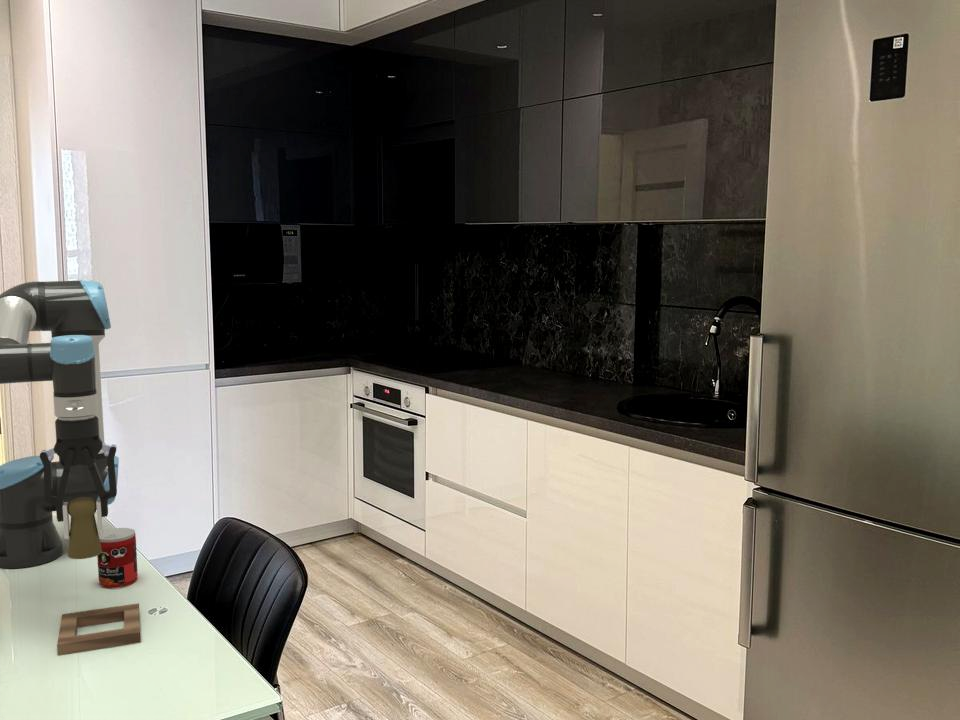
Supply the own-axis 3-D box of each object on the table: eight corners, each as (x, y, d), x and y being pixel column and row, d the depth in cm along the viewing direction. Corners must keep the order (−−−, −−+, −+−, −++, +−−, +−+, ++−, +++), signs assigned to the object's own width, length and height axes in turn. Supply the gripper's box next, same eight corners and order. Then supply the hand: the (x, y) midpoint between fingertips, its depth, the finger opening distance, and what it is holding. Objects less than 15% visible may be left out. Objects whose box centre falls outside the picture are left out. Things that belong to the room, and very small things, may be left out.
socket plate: (62, 623, 172) (62, 614, 171) (139, 612, 177) (139, 603, 177) (57, 655, 159) (56, 644, 159) (140, 642, 164) (140, 632, 164)
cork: (88, 560, 167) (85, 503, 166) (61, 557, 169) (57, 501, 167) (108, 549, 173) (105, 495, 172) (81, 547, 174) (78, 493, 173)
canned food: (91, 586, 190) (88, 537, 189) (117, 573, 198) (115, 525, 196) (119, 590, 188) (116, 541, 186) (145, 577, 195) (143, 529, 194)
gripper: (20, 423, 161) (29, 546, 164) (128, 416, 167) (134, 535, 170) (25, 416, 168) (33, 535, 171) (128, 410, 174) (134, 524, 177)
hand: (84, 534), depth 170 cm, fingers closed on cork, 5 cm apart
